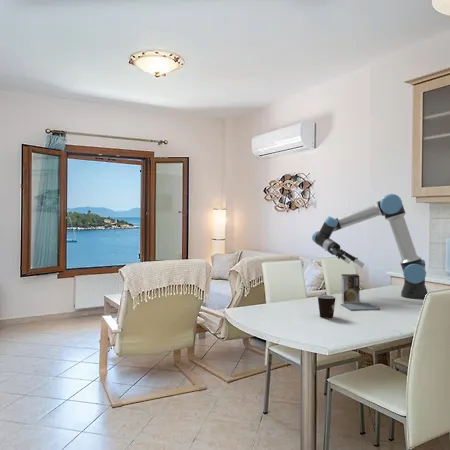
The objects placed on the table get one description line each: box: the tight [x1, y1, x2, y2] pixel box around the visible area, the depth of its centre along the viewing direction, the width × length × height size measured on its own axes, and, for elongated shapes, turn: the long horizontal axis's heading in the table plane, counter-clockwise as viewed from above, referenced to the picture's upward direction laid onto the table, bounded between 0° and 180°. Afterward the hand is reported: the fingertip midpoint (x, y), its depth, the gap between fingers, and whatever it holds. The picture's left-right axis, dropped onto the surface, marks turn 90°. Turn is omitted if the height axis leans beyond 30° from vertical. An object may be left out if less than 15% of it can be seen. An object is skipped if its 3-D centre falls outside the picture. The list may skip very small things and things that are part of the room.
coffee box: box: [341, 273, 361, 304], centre depth 243 cm, size 9×6×16 cm
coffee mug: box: [317, 294, 337, 319], centre depth 209 cm, size 12×9×10 cm
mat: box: [340, 302, 381, 312], centre depth 230 cm, size 16×14×1 cm
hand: (356, 263), depth 245 cm, fingers open, 13 cm apart
